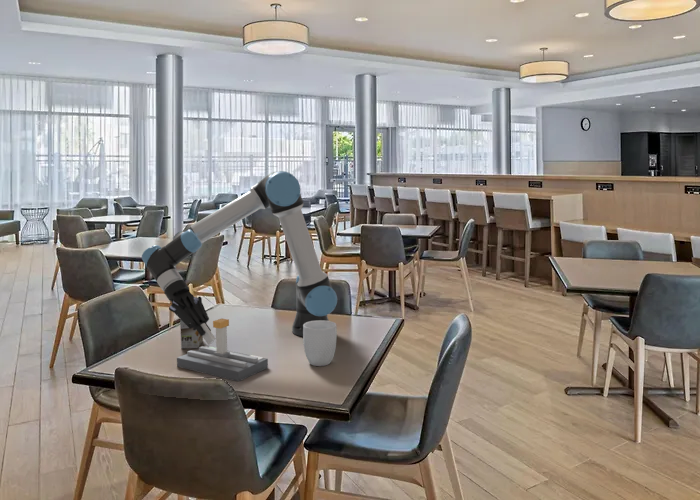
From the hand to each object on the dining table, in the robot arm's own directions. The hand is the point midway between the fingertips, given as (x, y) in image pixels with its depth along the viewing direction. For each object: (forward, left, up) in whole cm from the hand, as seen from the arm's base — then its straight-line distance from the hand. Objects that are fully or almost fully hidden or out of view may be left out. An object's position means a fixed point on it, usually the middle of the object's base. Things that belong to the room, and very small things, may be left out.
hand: (211, 341), depth 183 cm
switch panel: (-4, +2, -8) cm, 9 cm away
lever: (-4, +2, -5) cm, 6 cm away
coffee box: (+13, -22, -8) cm, 27 cm away
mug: (-35, -4, -8) cm, 36 cm away
